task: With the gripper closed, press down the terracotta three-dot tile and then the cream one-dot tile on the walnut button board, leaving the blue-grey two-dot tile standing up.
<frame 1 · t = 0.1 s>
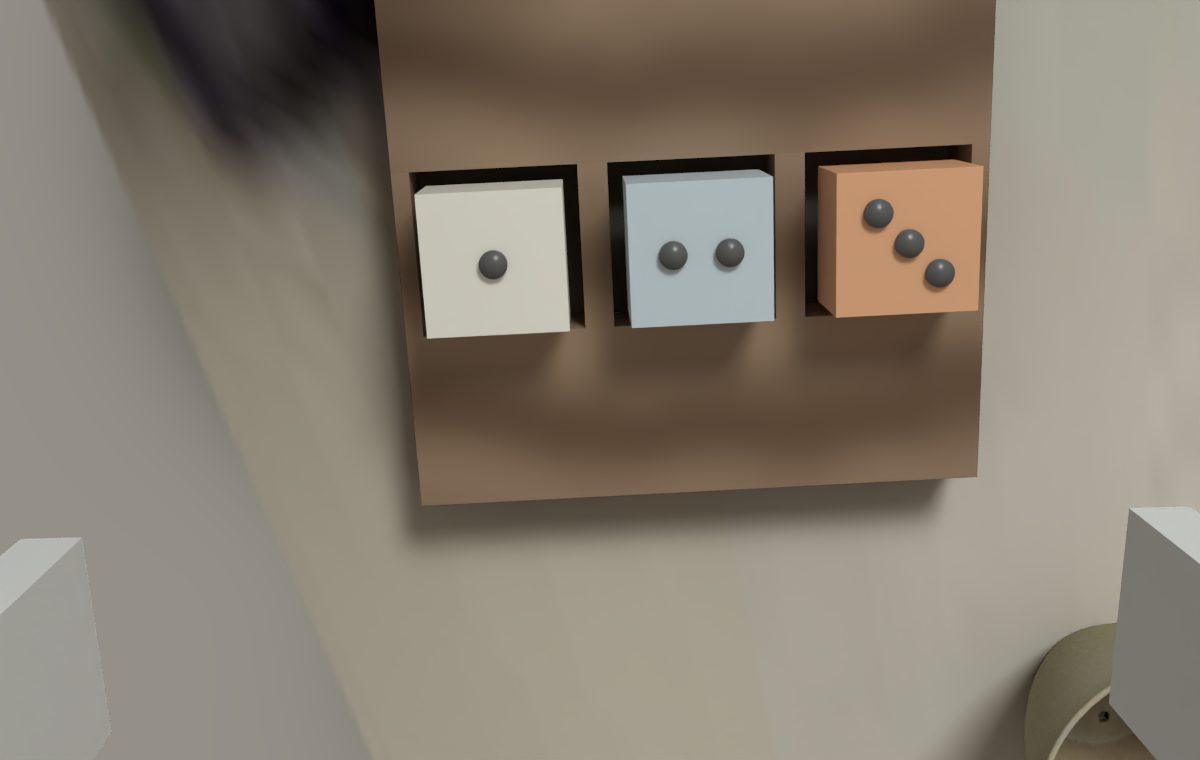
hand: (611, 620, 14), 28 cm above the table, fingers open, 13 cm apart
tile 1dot: (496, 257, 38), point 4 cm above the table, slide at 0.0 cm
flower pot: (1093, 679, 47), on the table
board: (686, 232, 41), on the table
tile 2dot: (696, 247, 38), point 4 cm above the table, slide at 0.0 cm
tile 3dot: (897, 237, 38), point 4 cm above the table, slide at 0.0 cm
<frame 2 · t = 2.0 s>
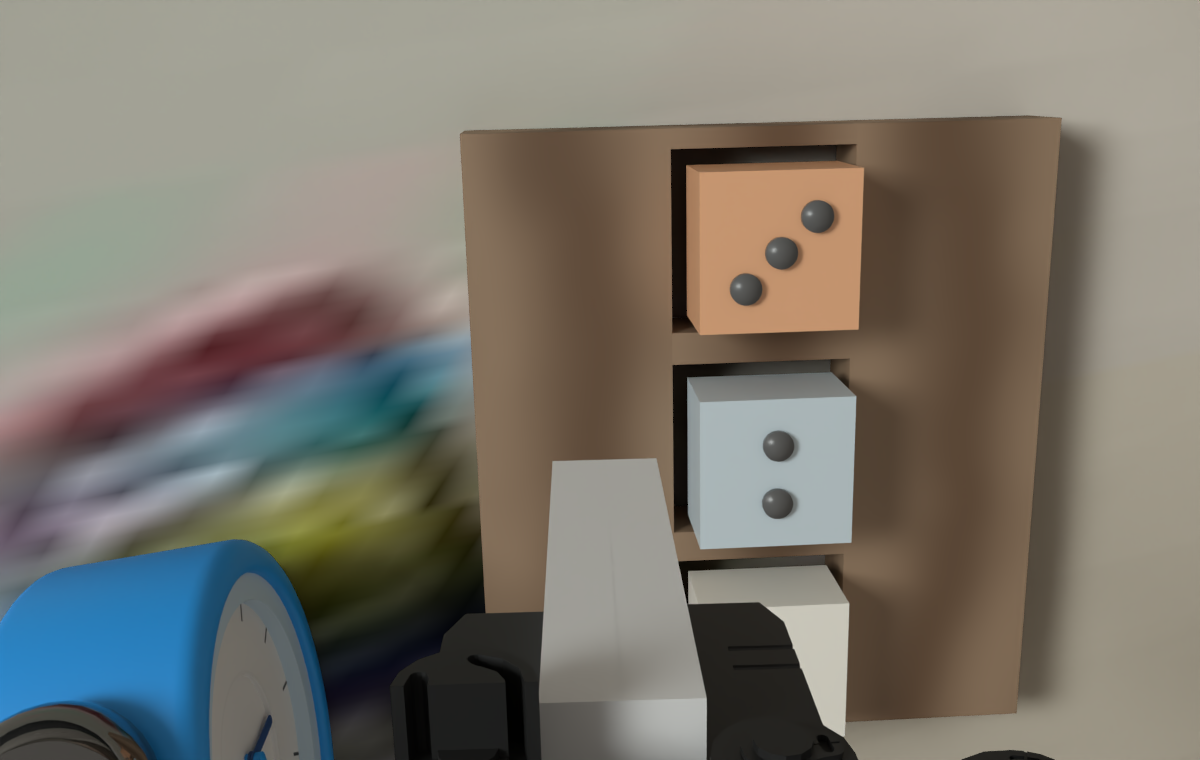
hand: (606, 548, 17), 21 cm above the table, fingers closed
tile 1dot: (765, 653, 37), point 4 cm above the table, slide at 0.0 cm
alarm clock: (235, 661, 40), on the table
board: (747, 425, 39), on the table
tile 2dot: (768, 459, 35), point 4 cm above the table, slide at 0.0 cm
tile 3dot: (771, 246, 34), point 4 cm above the table, slide at 0.0 cm
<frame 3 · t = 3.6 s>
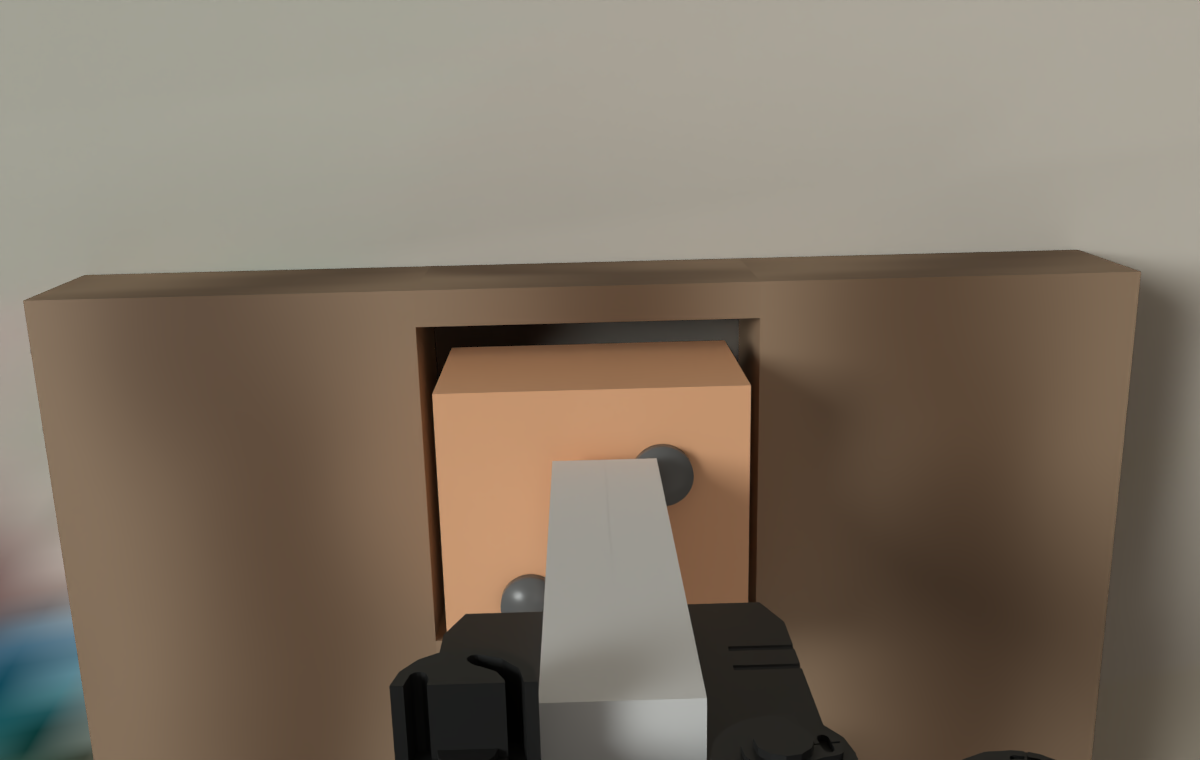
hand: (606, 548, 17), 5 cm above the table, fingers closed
board: (597, 749, 23), on the table
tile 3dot: (593, 505, 18), point 3 cm above the table, slide at 0.3 cm, touching gripper
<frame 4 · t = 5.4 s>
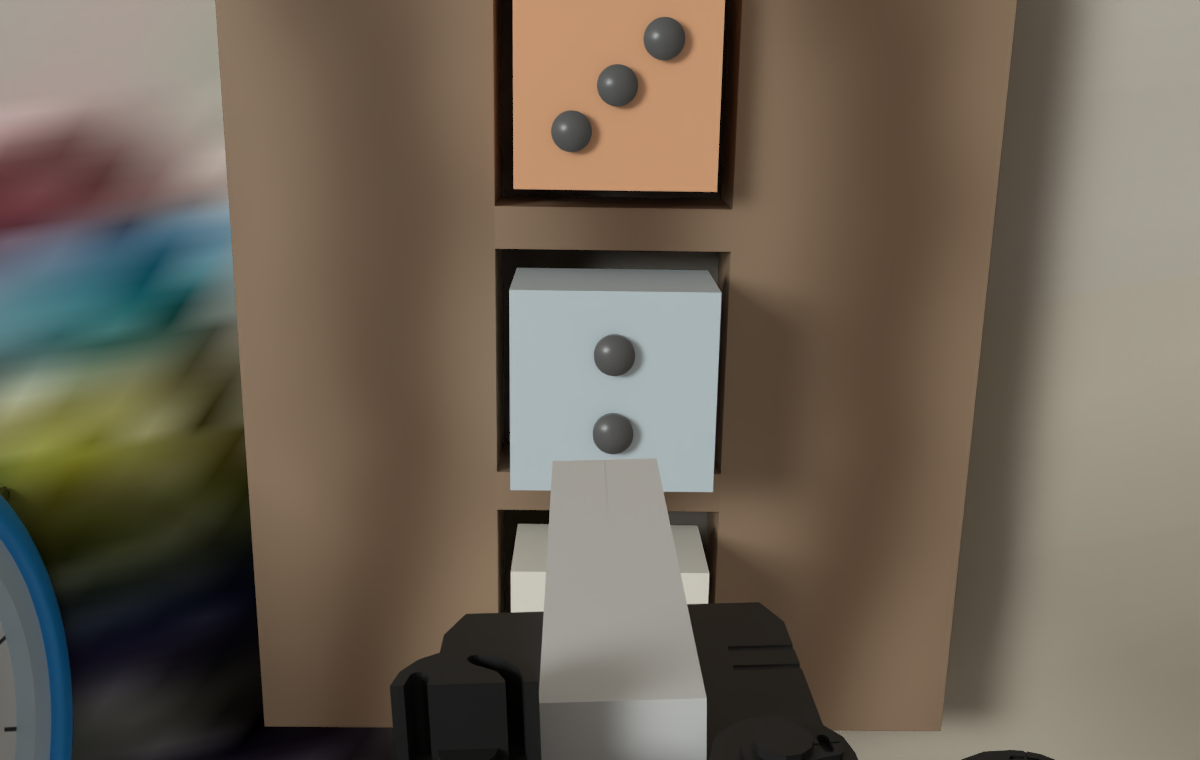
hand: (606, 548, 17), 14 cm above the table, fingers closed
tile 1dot: (607, 635, 28), point 4 cm above the table, slide at 0.0 cm
board: (609, 342, 30), on the table
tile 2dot: (612, 377, 27), point 4 cm above the table, slide at 0.0 cm
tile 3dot: (615, 84, 27), point 2 cm above the table, slide at 1.6 cm
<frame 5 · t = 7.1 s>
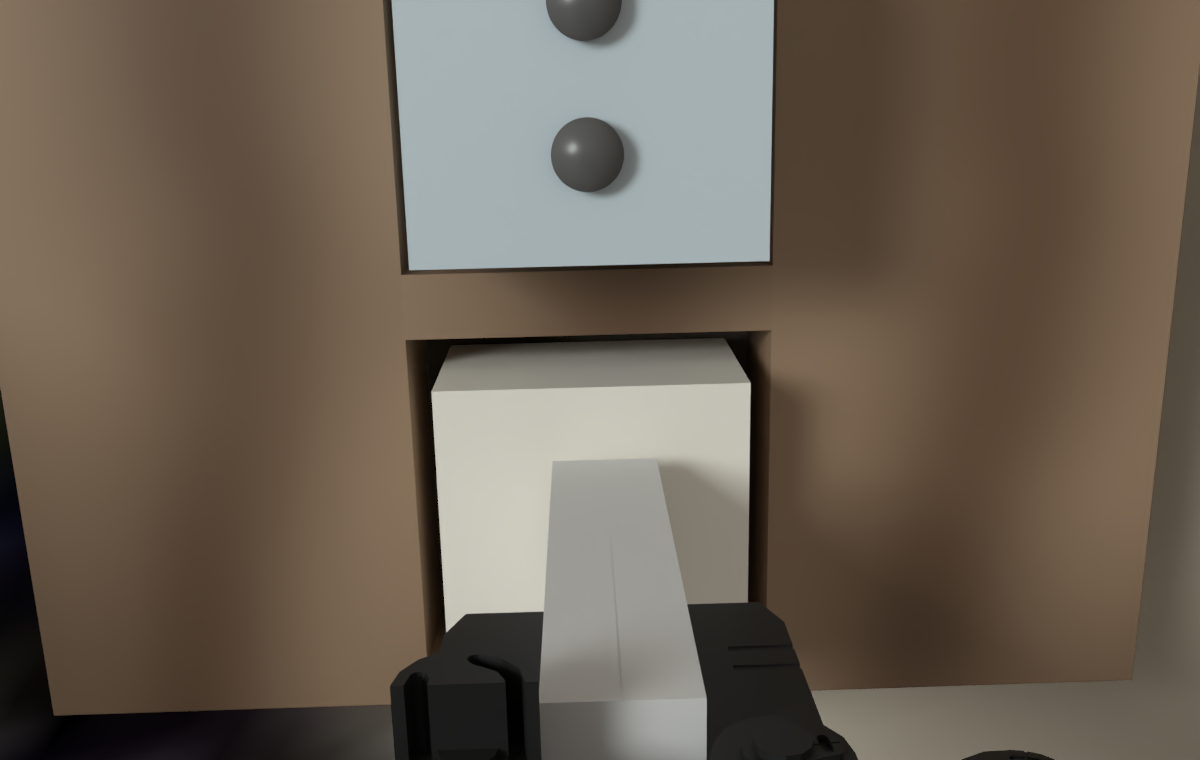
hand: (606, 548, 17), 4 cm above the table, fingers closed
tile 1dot: (593, 503, 18), point 2 cm above the table, slide at 1.4 cm, touching gripper
board: (581, 77, 19), on the table
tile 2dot: (584, 78, 15), point 4 cm above the table, slide at 0.0 cm
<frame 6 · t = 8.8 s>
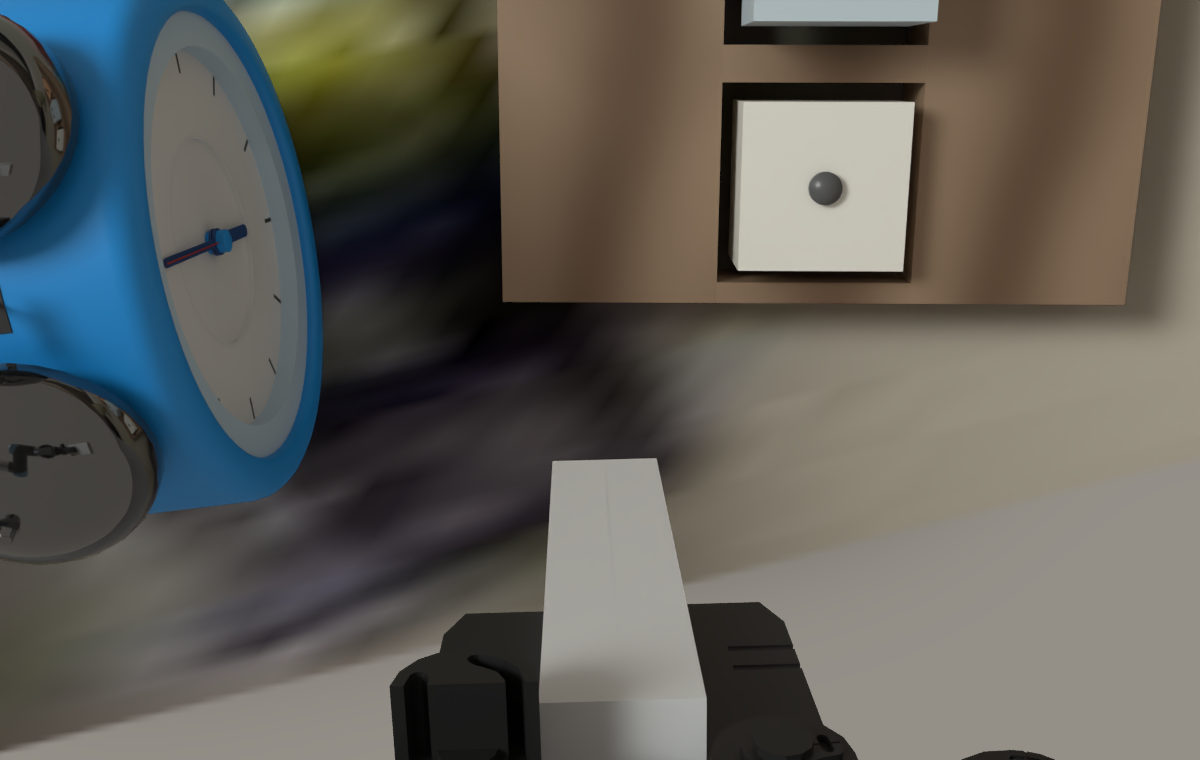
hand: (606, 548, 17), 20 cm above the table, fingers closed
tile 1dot: (816, 183, 33), point 2 cm above the table, slide at 1.6 cm
alarm clock: (219, 220, 36), on the table
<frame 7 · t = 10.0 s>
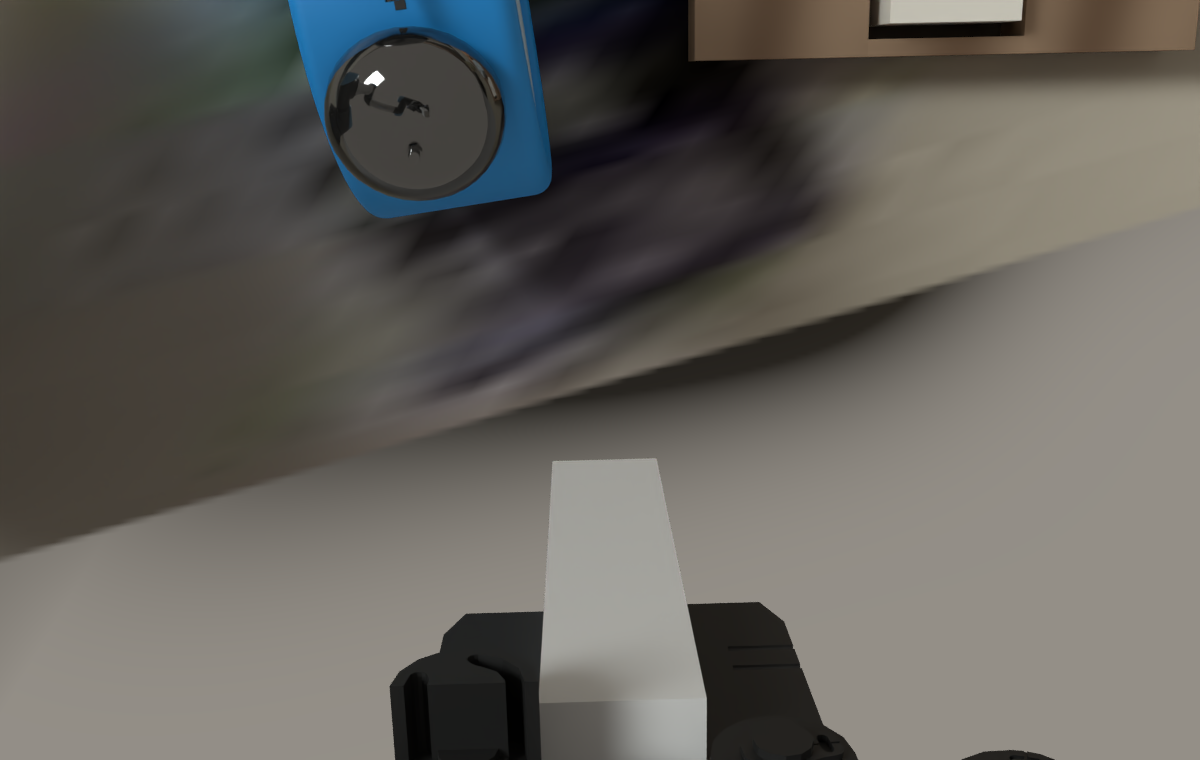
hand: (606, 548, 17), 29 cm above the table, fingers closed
alarm clock: (447, 11, 43), on the table
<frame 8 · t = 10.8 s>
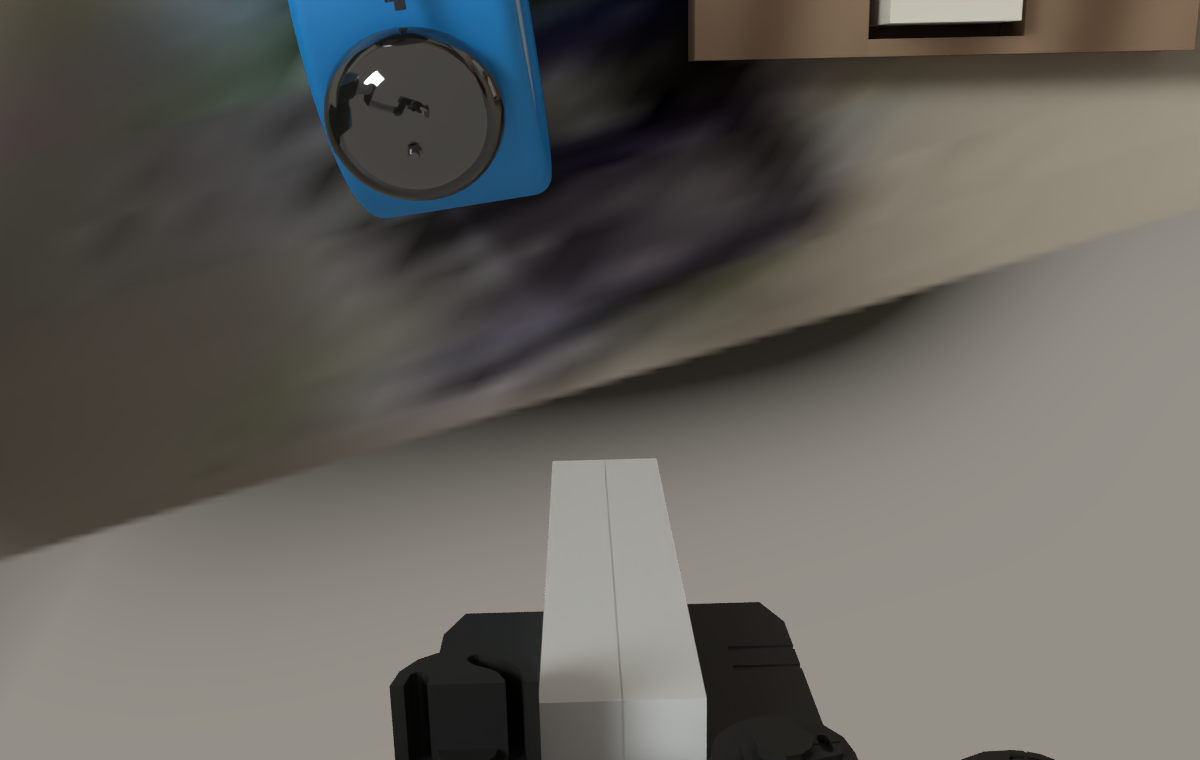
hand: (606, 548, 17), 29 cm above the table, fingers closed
alarm clock: (447, 10, 43), on the table
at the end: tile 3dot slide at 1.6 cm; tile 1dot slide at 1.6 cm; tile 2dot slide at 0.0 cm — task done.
